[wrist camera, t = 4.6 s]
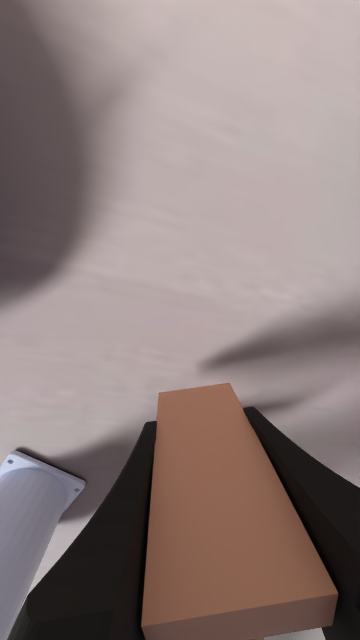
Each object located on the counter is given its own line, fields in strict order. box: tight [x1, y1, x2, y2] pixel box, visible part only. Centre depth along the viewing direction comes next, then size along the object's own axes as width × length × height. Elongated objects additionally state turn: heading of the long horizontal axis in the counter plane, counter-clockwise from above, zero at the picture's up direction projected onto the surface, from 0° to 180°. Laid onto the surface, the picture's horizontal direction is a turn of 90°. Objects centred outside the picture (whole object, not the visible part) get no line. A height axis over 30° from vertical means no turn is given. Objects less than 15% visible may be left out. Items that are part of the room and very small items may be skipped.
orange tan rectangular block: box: [141, 383, 338, 640], centre depth 9 cm, size 2×5×9 cm, turn 97°
